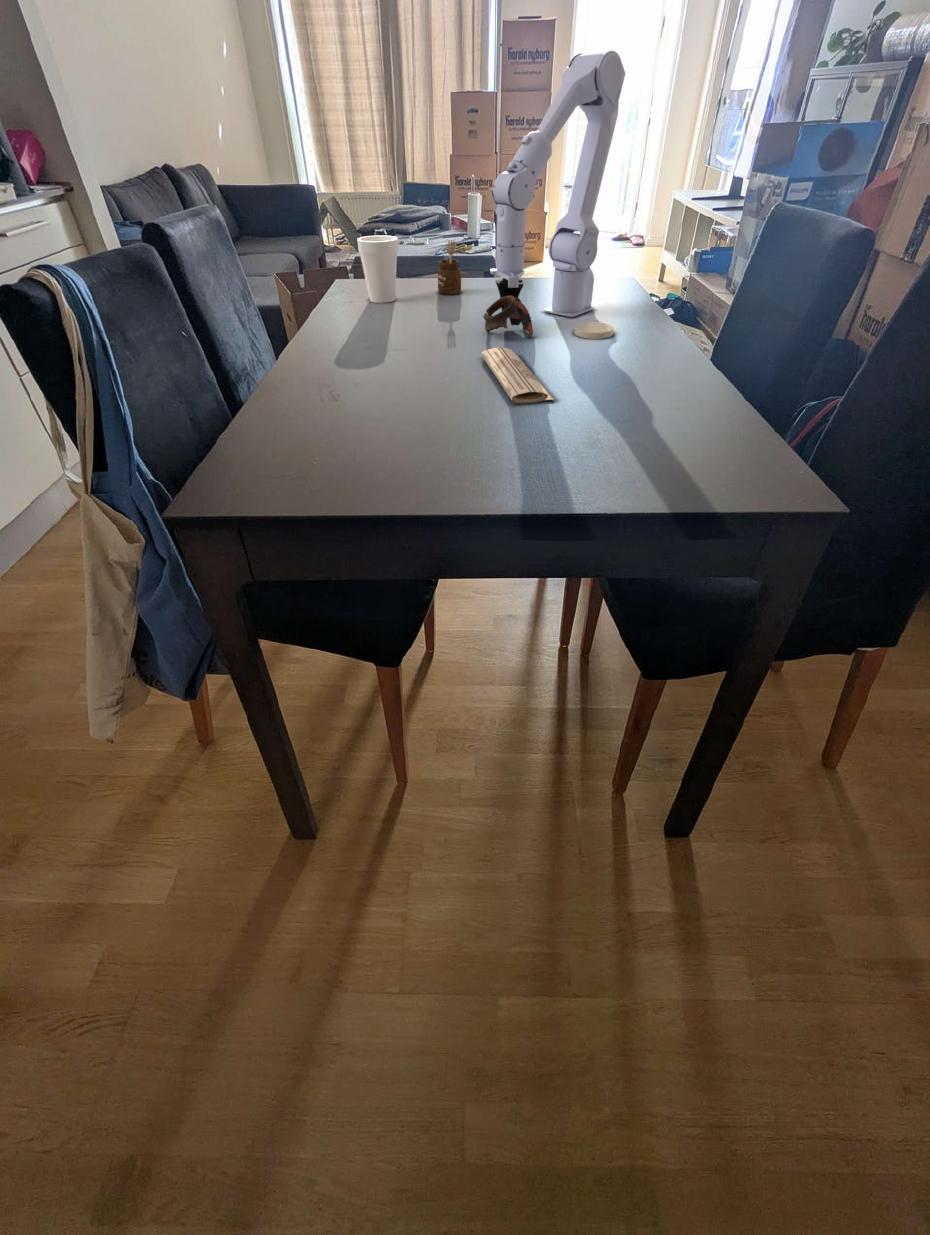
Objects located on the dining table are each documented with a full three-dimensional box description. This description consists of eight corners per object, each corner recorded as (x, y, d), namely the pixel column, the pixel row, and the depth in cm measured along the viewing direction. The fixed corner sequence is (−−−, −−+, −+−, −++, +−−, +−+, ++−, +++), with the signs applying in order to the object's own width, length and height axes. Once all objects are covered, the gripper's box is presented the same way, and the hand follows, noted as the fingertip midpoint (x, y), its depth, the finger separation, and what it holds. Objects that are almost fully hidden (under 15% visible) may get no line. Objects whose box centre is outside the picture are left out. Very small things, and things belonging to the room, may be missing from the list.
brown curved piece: (534, 344, 124) (515, 308, 118) (493, 362, 128) (474, 327, 123) (541, 313, 130) (524, 277, 125) (502, 330, 135) (484, 296, 130)
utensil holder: (457, 288, 160) (456, 235, 152) (464, 294, 155) (463, 239, 147) (435, 290, 159) (433, 236, 151) (441, 296, 154) (439, 240, 146)
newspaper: (481, 358, 116) (481, 348, 115) (517, 355, 117) (518, 346, 116) (511, 404, 98) (512, 393, 97) (554, 400, 99) (554, 389, 98)
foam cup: (409, 298, 153) (405, 237, 144) (386, 306, 147) (380, 243, 138) (379, 293, 157) (373, 234, 148) (355, 301, 151) (348, 239, 142)
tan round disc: (587, 325, 132) (588, 319, 131) (620, 332, 128) (621, 326, 127) (566, 334, 127) (567, 328, 127) (599, 341, 123) (600, 335, 123)
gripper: (487, 239, 129) (486, 309, 138) (494, 252, 118) (493, 327, 127) (520, 238, 130) (517, 308, 138) (530, 251, 119) (526, 326, 127)
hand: (508, 317), depth 133 cm, fingers closed
